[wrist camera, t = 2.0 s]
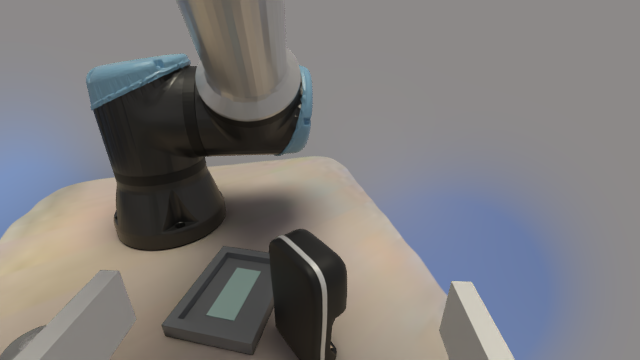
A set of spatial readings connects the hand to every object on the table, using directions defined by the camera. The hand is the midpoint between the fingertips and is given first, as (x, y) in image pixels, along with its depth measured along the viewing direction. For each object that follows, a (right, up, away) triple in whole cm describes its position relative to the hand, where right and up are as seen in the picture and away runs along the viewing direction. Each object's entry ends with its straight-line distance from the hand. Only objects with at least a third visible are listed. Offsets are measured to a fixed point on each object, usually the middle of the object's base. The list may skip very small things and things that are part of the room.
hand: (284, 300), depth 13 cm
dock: (-8, -8, +22) cm, 24 cm away
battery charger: (0, -11, +17) cm, 20 cm away
